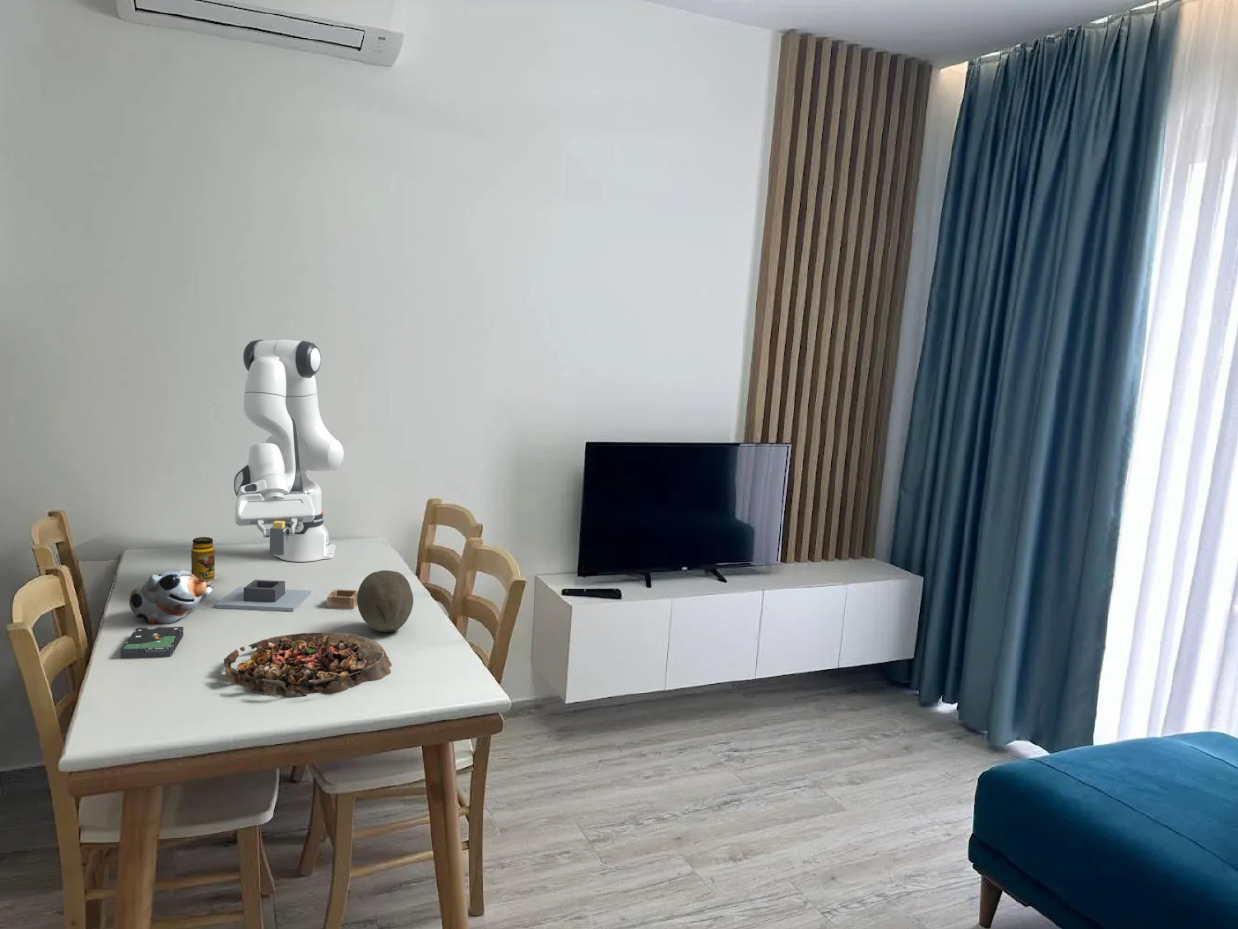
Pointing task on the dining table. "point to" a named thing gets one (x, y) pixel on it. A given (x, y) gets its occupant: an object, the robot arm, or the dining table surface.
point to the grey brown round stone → (385, 600)
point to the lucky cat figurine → (168, 596)
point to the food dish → (309, 664)
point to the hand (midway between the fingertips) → (279, 535)
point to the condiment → (203, 559)
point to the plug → (279, 538)
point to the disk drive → (152, 642)
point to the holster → (342, 599)
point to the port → (264, 597)
